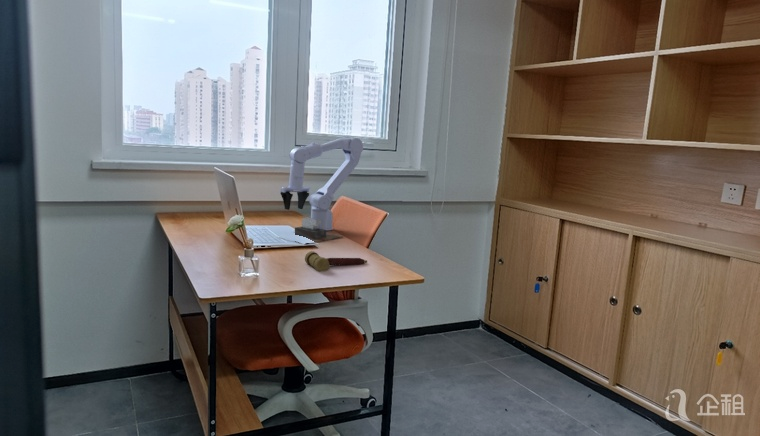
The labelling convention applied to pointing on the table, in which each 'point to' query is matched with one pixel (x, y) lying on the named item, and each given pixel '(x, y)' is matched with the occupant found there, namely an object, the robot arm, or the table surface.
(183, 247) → the table surface
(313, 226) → the steel bracket
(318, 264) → the gavel
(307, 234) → the slot board
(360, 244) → the table surface
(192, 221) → the table surface
